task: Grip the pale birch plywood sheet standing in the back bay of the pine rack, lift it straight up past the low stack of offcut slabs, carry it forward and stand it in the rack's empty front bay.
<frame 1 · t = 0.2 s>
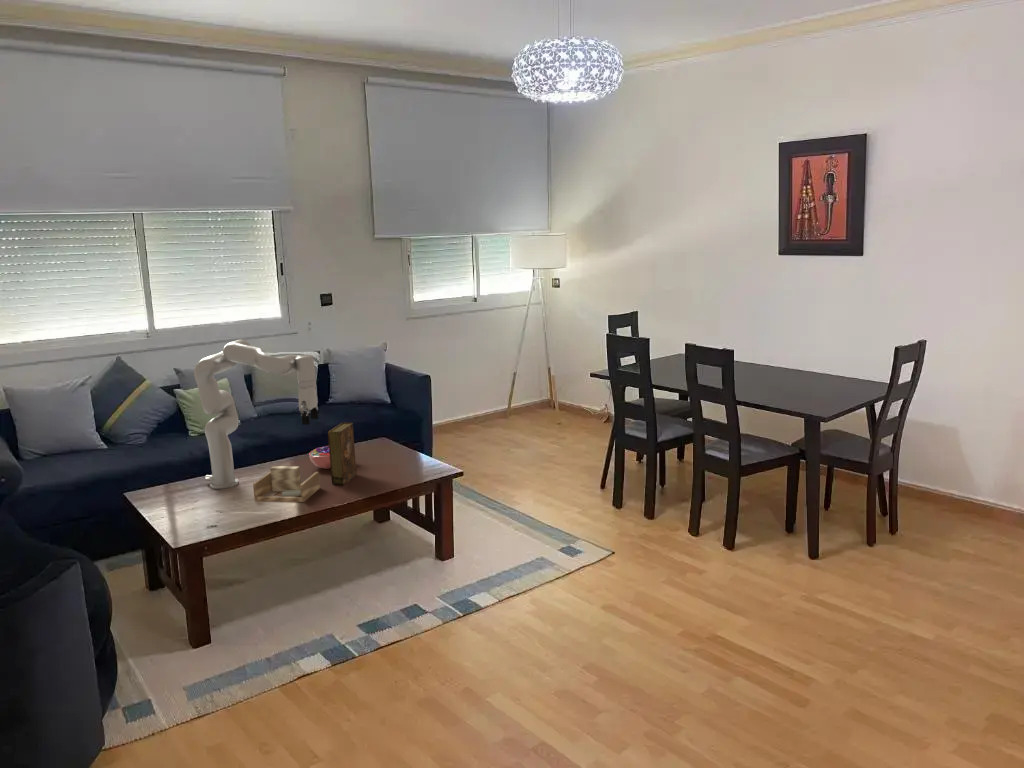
hand: (310, 421, 340), 30 cm above the table, fingers open, 9 cm apart
cell model: (330, 467, 375), on the table
offcut slab bottom: (288, 496, 338), on the table, touching offcut slab top
pine rack: (288, 495, 338), on the table
birch sheet: (287, 490, 343), on the table
book: (345, 480, 356), on the table
offcut slab top: (292, 494, 337), resting on offcut slab bottom
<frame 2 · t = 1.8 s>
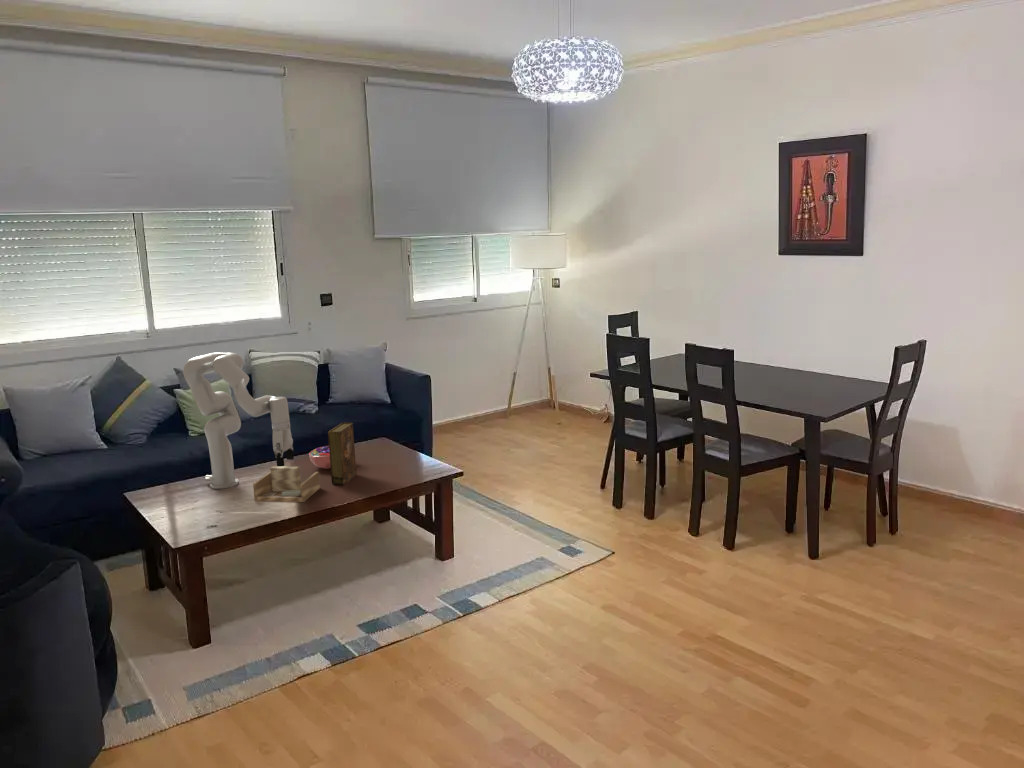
hand: (285, 462, 340), 13 cm above the table, fingers open, 9 cm apart
nothing on the table moved.
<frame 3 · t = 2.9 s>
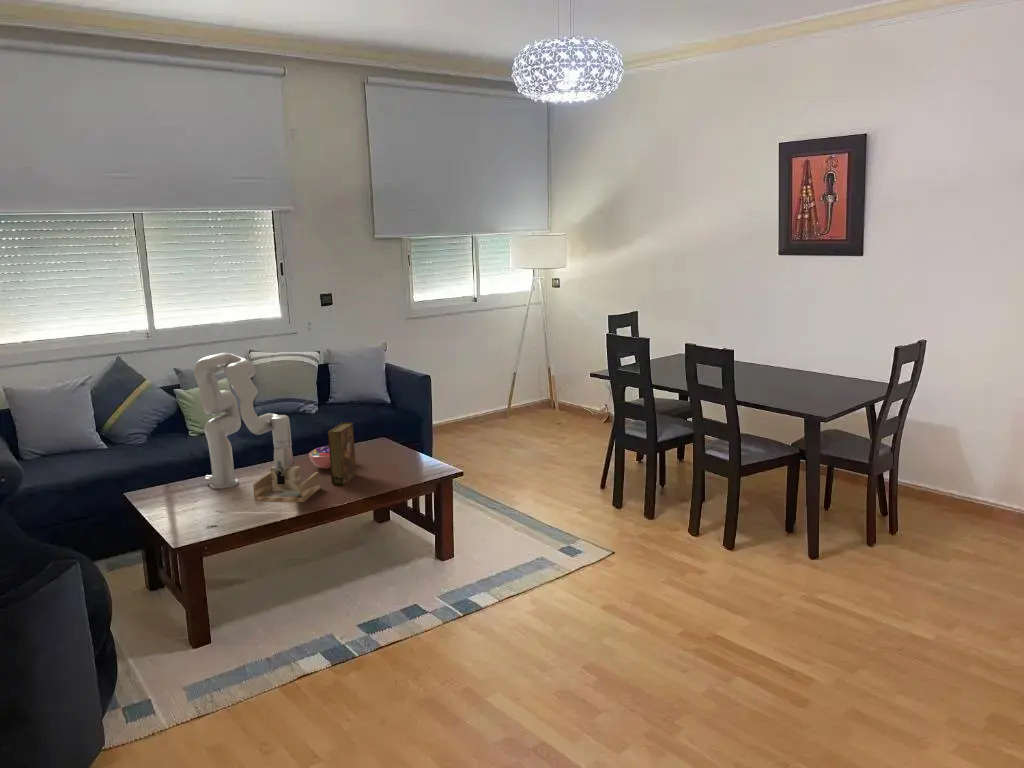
hand: (286, 480, 342), 5 cm above the table, fingers open, 9 cm apart
nothing on the table moved.
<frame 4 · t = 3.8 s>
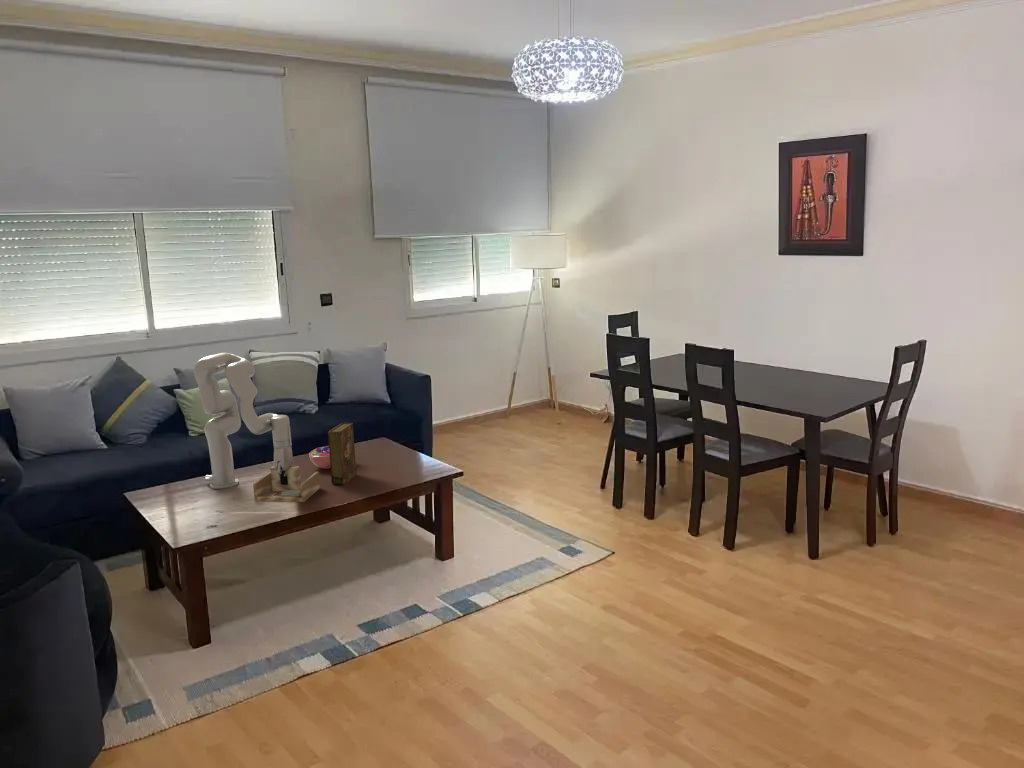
hand: (286, 482, 342), 4 cm above the table, fingers closed on birch sheet, 3 cm apart
birch sheet: (287, 490, 343), on the table, touching gripper
everything else where it was.
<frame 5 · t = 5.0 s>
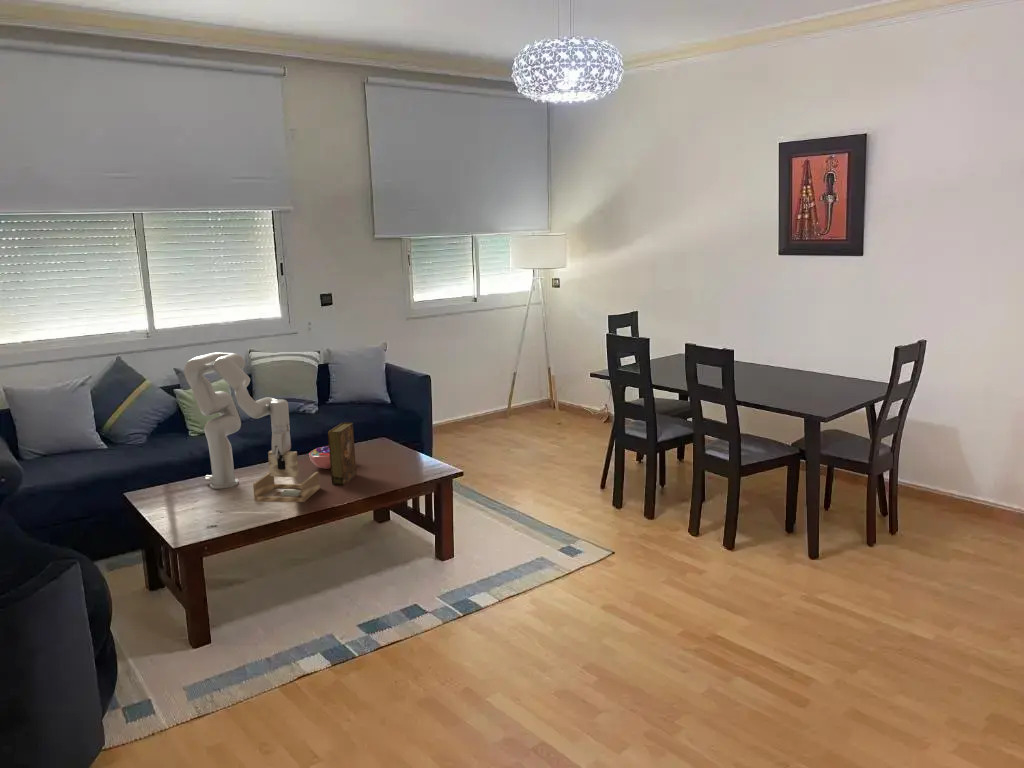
hand: (283, 467, 341), 11 cm above the table, fingers closed on birch sheet, 3 cm apart
birch sheet: (284, 475, 342), point 7 cm above the table, touching gripper
everything else where it was.
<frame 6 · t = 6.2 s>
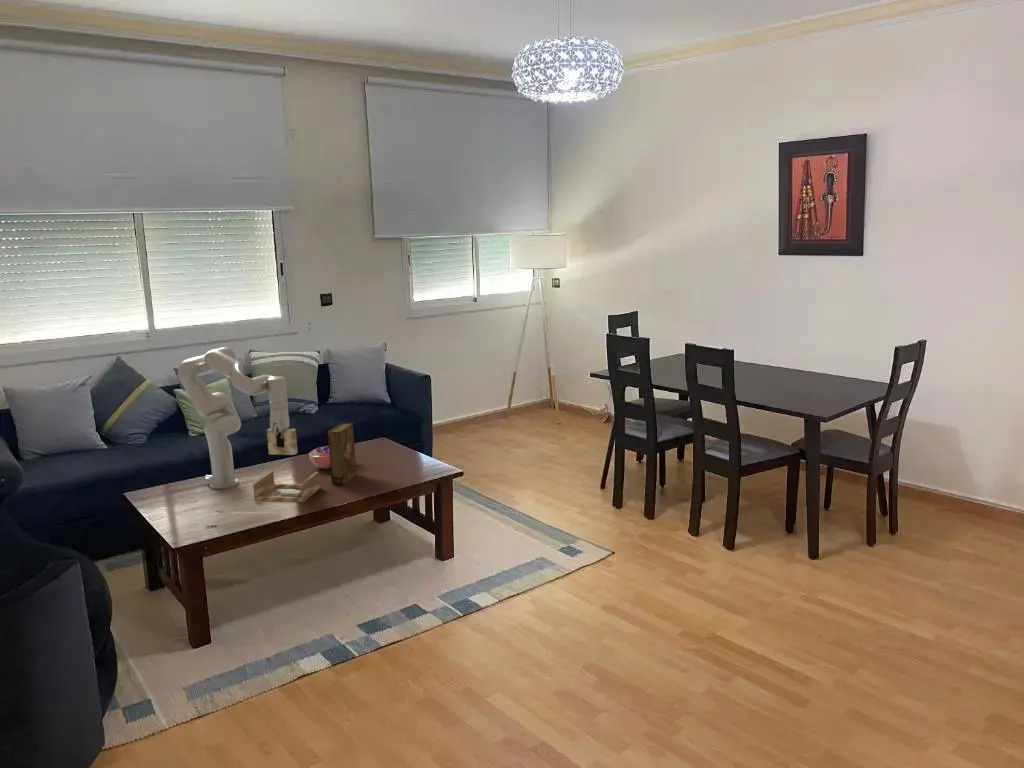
hand: (282, 445, 339), 21 cm above the table, fingers closed on birch sheet, 3 cm apart
offcut slab bottom: (288, 496, 338), on the table
birch sheet: (283, 453, 339), point 17 cm above the table, touching gripper
offcut slab top: (291, 494, 337), resting on offcut slab bottom
everything else where it was.
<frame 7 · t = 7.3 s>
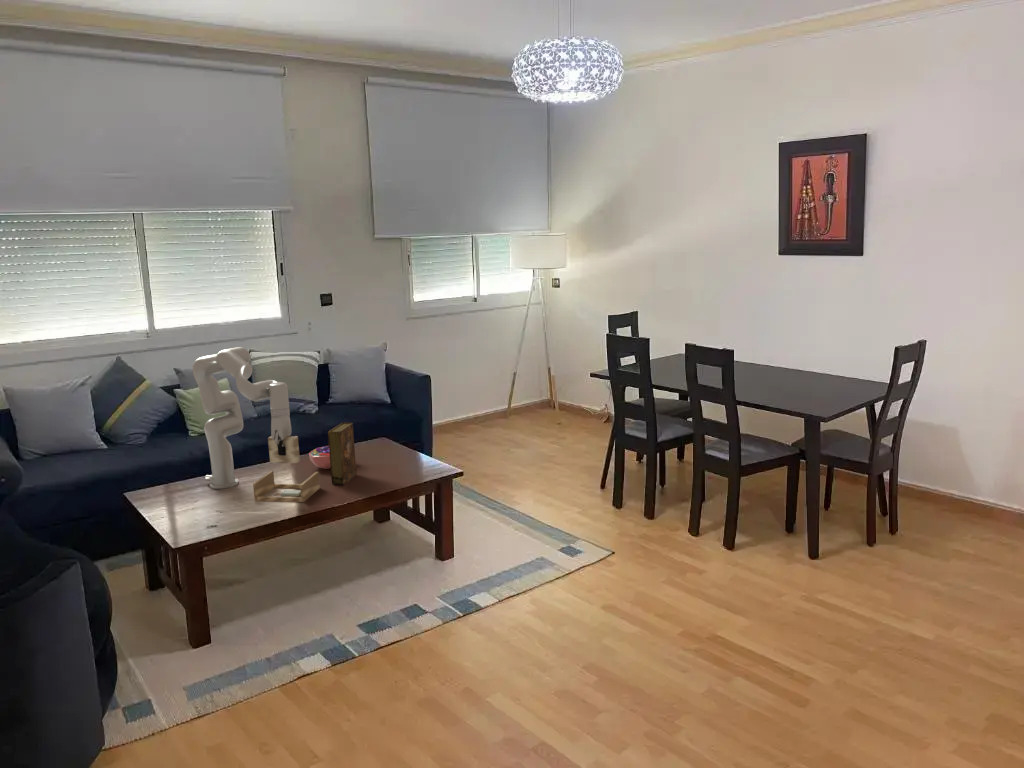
hand: (284, 453, 327), 21 cm above the table, fingers closed on birch sheet, 3 cm apart
offcut slab bottom: (288, 496, 338), on the table, touching offcut slab top
birch sheet: (285, 462, 328), point 17 cm above the table, touching gripper
offcut slab top: (291, 494, 337), resting on offcut slab bottom
everything else where it was.
when the fingers open (5 cm above the table, at t = 10.7 s): birch sheet drops 1 cm, on the table.
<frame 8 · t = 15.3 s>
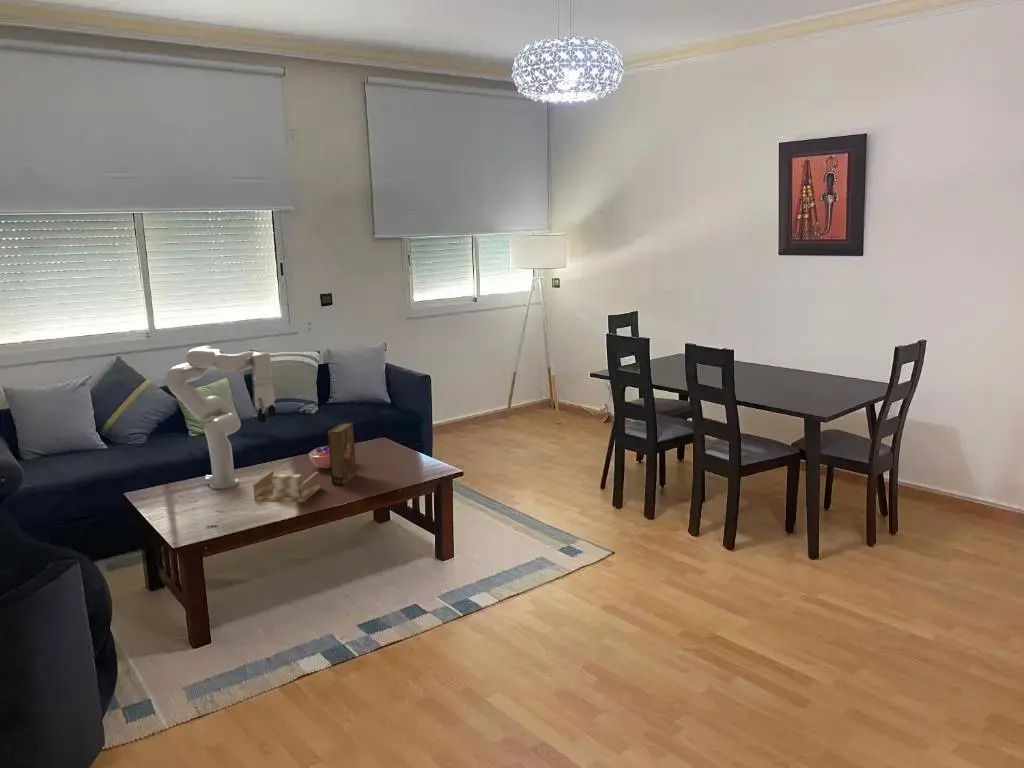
hand: (267, 419, 339), 32 cm above the table, fingers open, 9 cm apart
offcut slab bottom: (288, 496, 338), on the table
birch sheet: (288, 499, 332), on the table
offcut slab top: (290, 494, 337), resting on offcut slab bottom
everything else where it was.
at the end: birch sheet inside the target area on the pine rack (0.1 cm from its centre), point 0.0 cm above the pine rack's base; birch sheet tilted 0°; the gripper is holding nothing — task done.
